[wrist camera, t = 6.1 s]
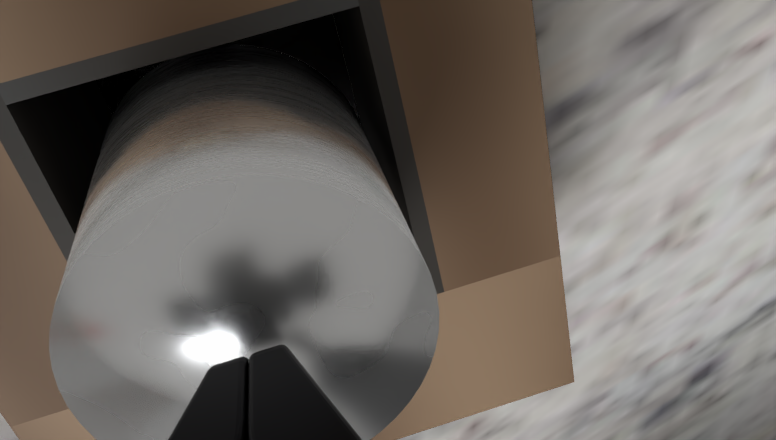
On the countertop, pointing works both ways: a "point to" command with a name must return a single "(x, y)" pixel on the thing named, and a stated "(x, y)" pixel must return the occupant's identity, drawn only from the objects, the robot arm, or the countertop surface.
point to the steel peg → (238, 250)
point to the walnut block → (386, 137)
